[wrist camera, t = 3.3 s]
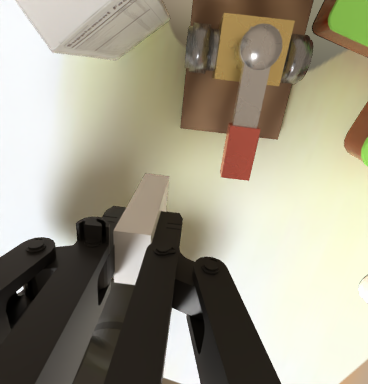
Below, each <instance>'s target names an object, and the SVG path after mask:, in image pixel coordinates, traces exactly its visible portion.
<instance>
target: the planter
mask: <svg viewBox="0 0 368 384" xmlns="http://www.w3.org/2000/svg"><path fill="white" fill-rule="evenodd" d="M312 31H313V33H314V34H315V35H317V36H319V37H321V38H324V39H326V40H328V41H331V42H333V43H335V44H337V45H339V46H342V47H344V48H346V49H350V50H352V51H354V52H356V53H359V54H361V55H363V56H365V57H368V0H324V2H323V4H322V6H321V8H320V10H319V12H318V14H317V16H316V18H315V20H314V22H313V25H312ZM344 147H345V149H346V151H347V152H348V153H349V154H351V155H352V156H354V157H356V158H358V159H359V160H361V161H363V162H364V164H365V165H367V166H368V102H367V103H366V105H365V106H364V108H363V109H362V111H361V113H360V114H359V116H358V117H357V119H356V120H355V122H354V123H353V125H352V127H351V128H350V130H349V131H348V133H347V135H346V137H345V140H344Z"/></svg>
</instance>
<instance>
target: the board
mask: <svg viewBox="0 0 368 384" xmlns="http://www.w3.org/2000/svg"><path fill="white" fill-rule="evenodd" d="M312 4H313V0H193V5H192V15H191V26H193V24H194V22H195V23H204V24H211V29H219V24H220V21H221V19H222V16H223V14H224V13H231V14H240V15H249V16H258V17H267V18H275V19H284V20H293V21H295V23H294V27H293V31H292V34H301V35H305V31H306V27H307V23H308V20H309V16H310V12H311V8H312ZM212 74H213V71H208V70H206V72H205V74H203V73H194V72H189V68H186V76H185V86H184V97H183V107H182V117H181V127H180V128H184V129H192V130H201V131H209V132H218V133H226V134H227V129H228V124H229V123H232V120H233V114H234V108H235V103H236V97H237V92H238V86H239V82H237V81H228V80H220V79H213V78H212ZM291 86H292V84H289V83H281V82H280V85H279V86H271V85H266V90H265V94H264V99H263V103H262V108H261V112H260V117H259V121H258V127H259V128H260V129H261V130H260V134H259V137H260V138H269V139H277V140H278V136H279V132H280V129H281V125H282V121H283V117H284V113H285V109H286V105H287V101H288V98H289V94H290V90H291Z"/></svg>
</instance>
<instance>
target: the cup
mask: <svg viewBox="0 0 368 384" xmlns="http://www.w3.org/2000/svg"><path fill="white" fill-rule="evenodd" d="M358 292H359V294H360V296H361V297H362V298H363V299H364V300H365V301H366V302H367V303H368V276H366V277H365V278H364V279H363V280H362V281H361V283H360V285H359V287H358Z"/></svg>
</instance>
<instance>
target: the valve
mask: <svg viewBox="0 0 368 384" xmlns="http://www.w3.org/2000/svg"><path fill="white" fill-rule="evenodd" d="M263 23H264V24H270V25H272V26H274V27H275V28H276V29H278V31H279V32H280V34H281V37H282V51H281V54H280V56H279V58H278V59H277V61H276V62H275V63H274V64H273V65H272V66H271V67H270V71H269V76H268V80H267V85H271V86H279V85H280V82H281V83H289V84H295V83H297V82H298V81H300V80H302V79H303V77H304V76H305V74H306V72H307V70H308V68H309V65H310V62H311V58H312V53H313V42H312V40H310V37H309V36H308V35H301V34H292V31H293V27H294V23H295V21H293V20H284V19H275V18H267V17H258V16H249V15H240V14H231V13H224V14H223V16H222V19H221V21H220V24H219V29H211V24H204V23H195V22H194V24H193V26H189V29H188V36H187V45H186V57H185V68H189V72H194V73H203V74H205V72H206V70H208V71H213V74H212V78H213V79H220V80H228V81H237V82H239V80H240V75H241V69H242V62H241V61H240V58H239V53H238V49H239V44H240V41H241V39H242V37H243V36H244V34H245V33H246V32H247V31H248V30H249V28H250V27H254V26H256V25H258V24H263Z"/></svg>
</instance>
